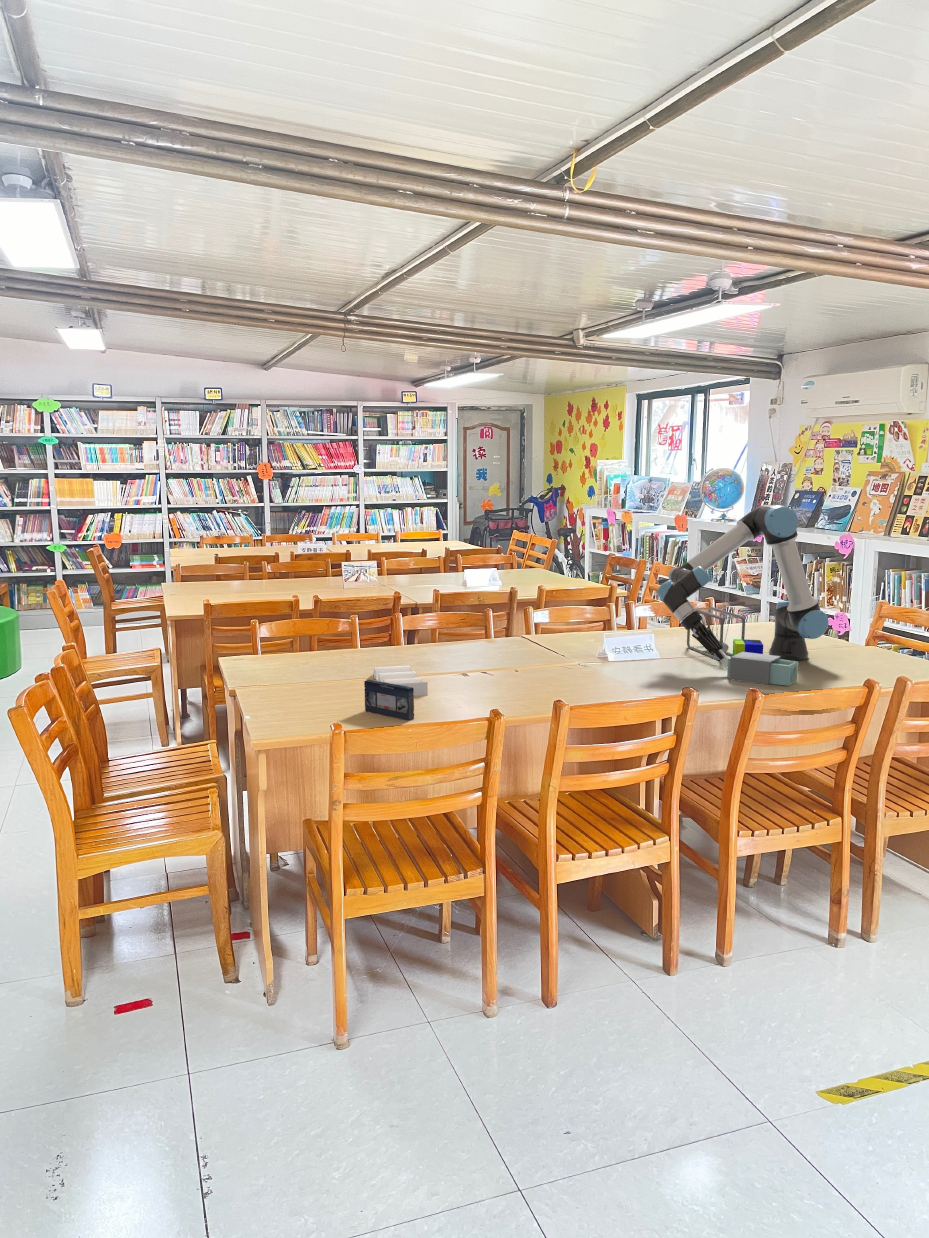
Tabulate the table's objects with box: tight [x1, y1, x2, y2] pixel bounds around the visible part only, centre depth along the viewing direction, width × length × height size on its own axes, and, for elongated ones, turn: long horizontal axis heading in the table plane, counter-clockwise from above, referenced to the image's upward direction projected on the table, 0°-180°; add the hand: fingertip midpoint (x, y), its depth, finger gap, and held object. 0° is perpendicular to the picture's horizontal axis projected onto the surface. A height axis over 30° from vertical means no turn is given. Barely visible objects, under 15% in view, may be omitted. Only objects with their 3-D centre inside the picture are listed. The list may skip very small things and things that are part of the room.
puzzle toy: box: [732, 638, 764, 656], centre depth 338 cm, size 10×10×10 cm
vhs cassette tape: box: [363, 679, 415, 721], centre depth 270 cm, size 18×3×10 cm, turn 52°
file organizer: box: [372, 665, 429, 697], centre depth 310 cm, size 13×35×5 cm, turn 15°
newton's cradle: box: [686, 606, 746, 661], centre depth 363 cm, size 30×10×18 cm, turn 12°
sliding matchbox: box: [727, 656, 799, 687], centre depth 317 cm, size 22×10×7 cm, turn 53°
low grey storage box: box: [729, 652, 782, 686], centre depth 319 cm, size 14×12×8 cm
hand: (729, 665), depth 325 cm, fingers closed
